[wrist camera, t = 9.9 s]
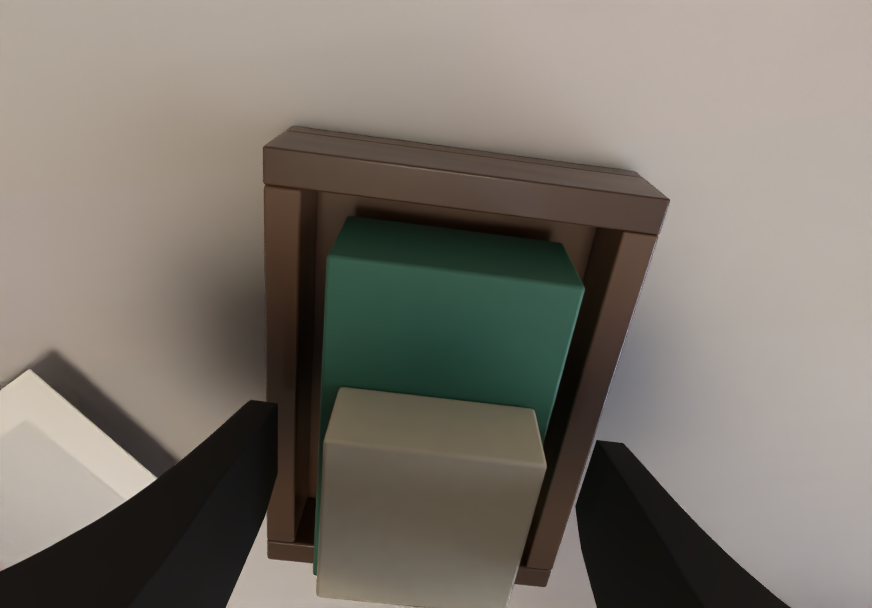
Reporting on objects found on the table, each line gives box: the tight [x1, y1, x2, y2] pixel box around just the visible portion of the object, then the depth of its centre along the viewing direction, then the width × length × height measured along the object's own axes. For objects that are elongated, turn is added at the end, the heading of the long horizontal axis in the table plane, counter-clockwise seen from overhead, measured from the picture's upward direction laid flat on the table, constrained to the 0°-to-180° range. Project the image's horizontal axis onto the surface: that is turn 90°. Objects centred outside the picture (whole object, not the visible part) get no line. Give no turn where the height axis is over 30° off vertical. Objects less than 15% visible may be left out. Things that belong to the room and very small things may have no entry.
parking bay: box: [263, 126, 670, 587], centre depth 15 cm, size 12×8×2 cm
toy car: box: [313, 216, 585, 608], centre depth 14 cm, size 9×5×5 cm, turn 173°
